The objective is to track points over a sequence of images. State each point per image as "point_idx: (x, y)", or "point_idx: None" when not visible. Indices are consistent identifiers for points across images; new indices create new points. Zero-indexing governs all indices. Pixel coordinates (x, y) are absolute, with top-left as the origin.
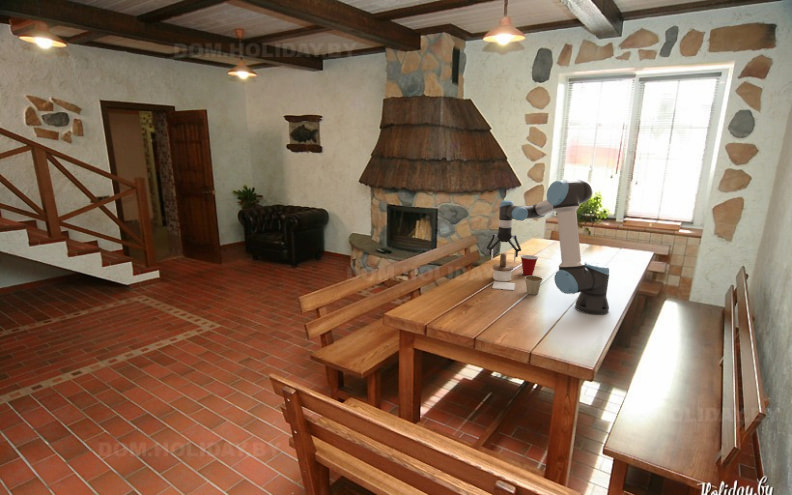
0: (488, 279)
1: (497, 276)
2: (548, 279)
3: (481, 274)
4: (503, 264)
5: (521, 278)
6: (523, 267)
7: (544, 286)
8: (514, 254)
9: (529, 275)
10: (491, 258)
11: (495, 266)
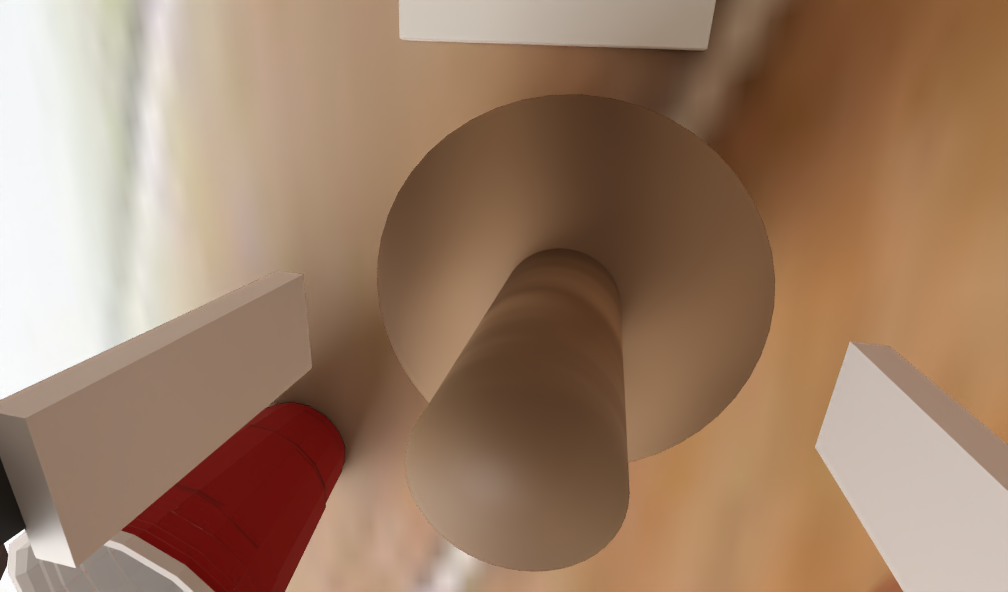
0: (782, 173)
1: None
2: (106, 313)
3: None
4: (542, 268)
5: (349, 301)
6: (294, 477)
7: (83, 47)
8: (121, 367)
9: (280, 404)
10: (916, 380)
11: (710, 297)
